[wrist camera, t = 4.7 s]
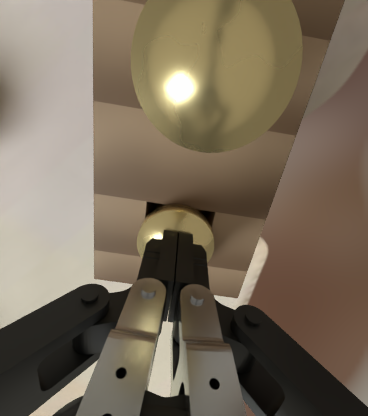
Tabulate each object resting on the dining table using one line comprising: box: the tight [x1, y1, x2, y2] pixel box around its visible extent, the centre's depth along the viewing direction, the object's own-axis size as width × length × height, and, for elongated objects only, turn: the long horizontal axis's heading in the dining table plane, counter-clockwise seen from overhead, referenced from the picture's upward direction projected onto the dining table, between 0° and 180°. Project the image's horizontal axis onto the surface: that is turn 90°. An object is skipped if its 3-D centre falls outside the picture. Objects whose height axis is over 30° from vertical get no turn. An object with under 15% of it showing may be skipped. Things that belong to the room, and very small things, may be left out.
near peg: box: [131, 0, 303, 153], centre depth 10 cm, size 4×4×10 cm
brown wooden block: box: [93, 0, 345, 298], centre depth 16 cm, size 16×9×10 cm, turn 171°
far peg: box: [137, 203, 214, 263], centre depth 17 cm, size 4×4×10 cm
